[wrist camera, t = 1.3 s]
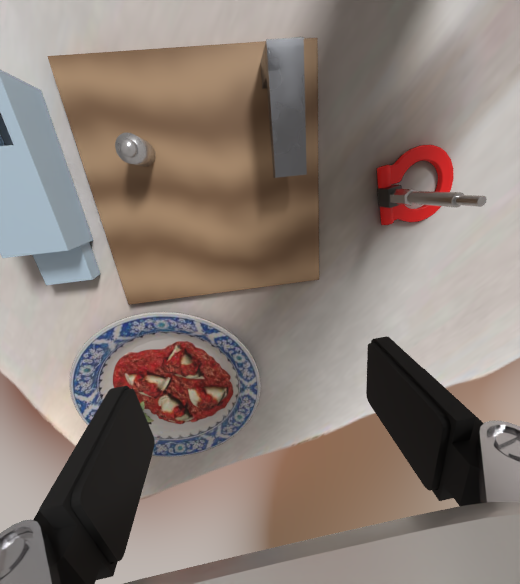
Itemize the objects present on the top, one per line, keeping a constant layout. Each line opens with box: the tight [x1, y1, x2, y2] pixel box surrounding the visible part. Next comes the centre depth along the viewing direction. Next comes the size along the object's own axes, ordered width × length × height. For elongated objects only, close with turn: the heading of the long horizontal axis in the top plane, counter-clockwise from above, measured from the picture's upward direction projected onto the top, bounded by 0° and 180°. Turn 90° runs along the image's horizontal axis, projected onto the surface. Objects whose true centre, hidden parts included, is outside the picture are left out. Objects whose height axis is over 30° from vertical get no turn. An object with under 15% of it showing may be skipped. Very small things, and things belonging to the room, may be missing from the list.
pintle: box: [115, 133, 156, 167], centre depth 24 cm, size 2×2×5 cm
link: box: [0, 70, 100, 285], centre depth 25 cm, size 18×6×5 cm, turn 5°
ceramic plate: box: [70, 312, 261, 457], centre depth 37 cm, size 26×26×3 cm
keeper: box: [260, 37, 307, 178], centre depth 24 cm, size 10×3×4 cm, turn 5°
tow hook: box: [377, 145, 486, 225], centre depth 26 cm, size 8×13×9 cm
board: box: [48, 38, 319, 305], centre depth 28 cm, size 24×24×1 cm
